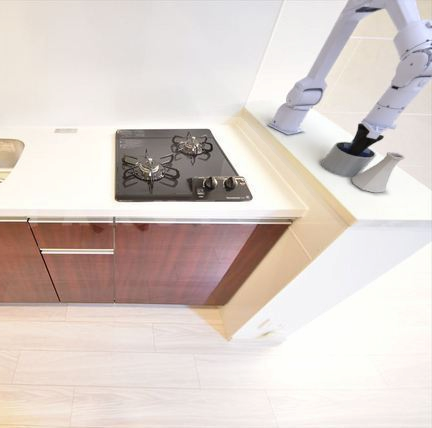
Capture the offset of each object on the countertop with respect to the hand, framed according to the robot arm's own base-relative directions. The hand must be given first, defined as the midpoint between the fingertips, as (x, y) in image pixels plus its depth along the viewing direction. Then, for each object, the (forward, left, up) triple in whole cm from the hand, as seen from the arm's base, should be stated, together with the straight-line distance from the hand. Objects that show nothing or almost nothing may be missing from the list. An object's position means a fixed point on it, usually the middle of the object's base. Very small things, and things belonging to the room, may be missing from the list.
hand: (352, 152), depth 69 cm
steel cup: (0, 0, -6) cm, 6 cm away
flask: (+9, -2, -6) cm, 11 cm away
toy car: (0, 0, -1) cm, 1 cm away
